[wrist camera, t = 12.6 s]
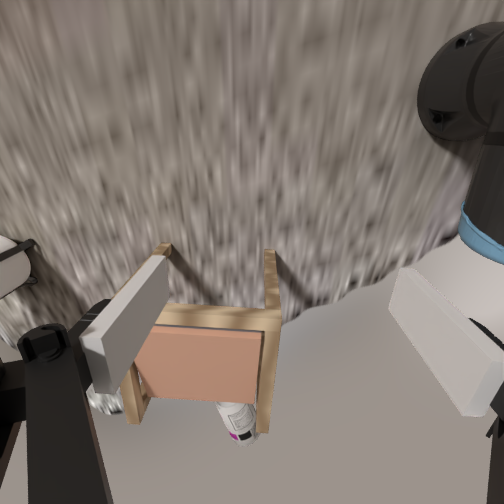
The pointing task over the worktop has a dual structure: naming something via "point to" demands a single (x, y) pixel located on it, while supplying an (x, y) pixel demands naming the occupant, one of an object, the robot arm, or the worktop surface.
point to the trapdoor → (200, 363)
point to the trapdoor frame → (220, 318)
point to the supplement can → (239, 421)
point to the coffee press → (14, 265)
